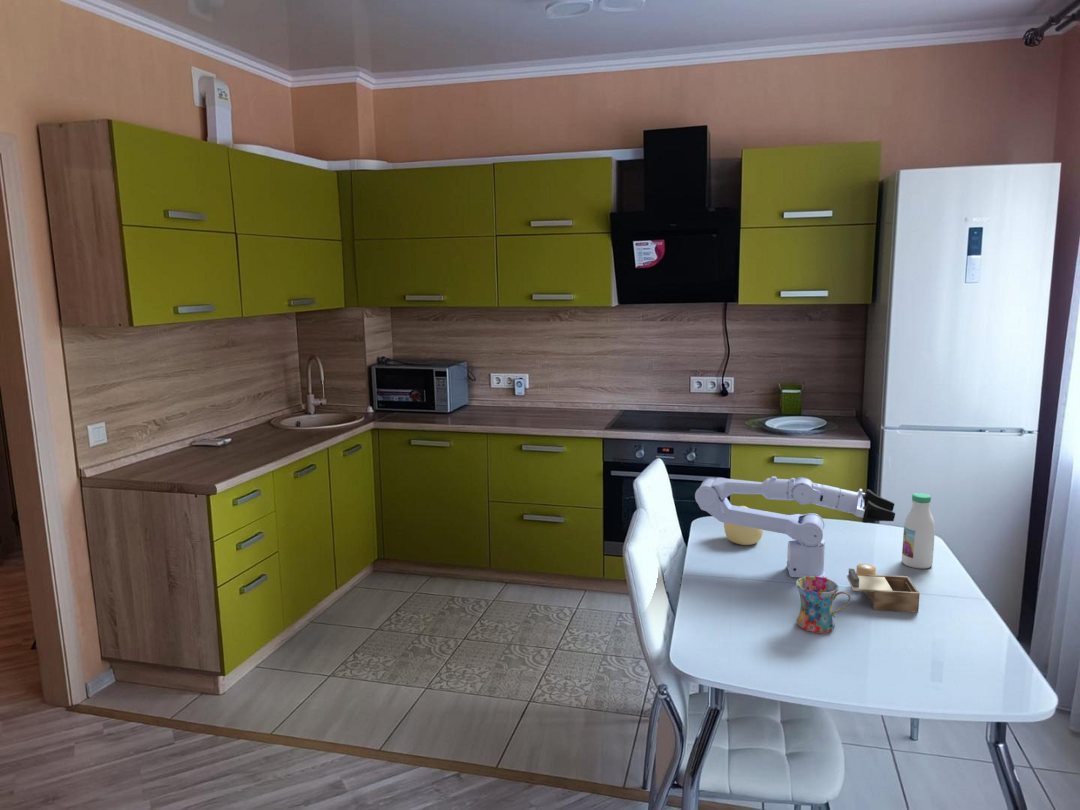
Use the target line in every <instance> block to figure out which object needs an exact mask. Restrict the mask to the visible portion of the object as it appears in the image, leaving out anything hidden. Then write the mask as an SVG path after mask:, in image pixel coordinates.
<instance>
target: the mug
mask: <svg viewBox="0 0 1080 810" xmlns="http://www.w3.org/2000/svg"><path fill="white" fill-rule="evenodd" d="M795 585H796V587H797V590H798V593H799V597H800V611H799V614H798V616H797V618H796V620H795V621H796V624H797V626H798V627H800V628H801V629H803V630H804V631H807V632H810V633H818V634H822V633H823V634H825V633H829V632H831V631H833V630H834V629H835V627H836V624H835V621H834V620H833V618H836V615H835V614H836V613H839V612H841V611H843V610H845V608H847V607H848V605H849V604H850V602H851V599H852V598H851V595H850V593H848V592H846V591H838V590H839V588H840V587H839V585H838V584H837V582H835V581H834V580H831V579H829V578H828V577H827V578H823V577H816V576H808V577H802V578H800V577H798V579H797V580H796V581H795ZM839 595H846V596H847V597H848V599H847V601H846V603H845V604H844V605H843V606H842V607H840V608H838V609H836V610H834V611H832V607H833V602H834V601H835V600H836V598H837V597H838V596H839Z"/></svg>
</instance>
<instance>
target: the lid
mask: <svg viewBox="0 0 1080 810" xmlns="http://www.w3.org/2000/svg"><path fill="white" fill-rule="evenodd" d="M846 579H847V581H848V582H849V584H850V587H851V589H852V591H854V592H865V591H869V592H875V590H885V591H893V590H892V589H891V587H890V585H889V584H888V582H887V580H886V579H885V577H873V576H857V574H856V569H854V568H848V574H847V575H846Z"/></svg>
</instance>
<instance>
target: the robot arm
mask: <svg viewBox="0 0 1080 810" xmlns="http://www.w3.org/2000/svg"><path fill="white" fill-rule="evenodd" d="M733 494H735V495H762V496H763V497H764V498H765V499H766V500H772V501H773V500H775V501H790V502H791V501H795V502H797V503H798V504H799V505H801V506H802V505H803V506H805V505H809V504H813V505H817V506H820V507H824V508H828V509H831V510H837V511H840V512H844V513H849V514H853V515H854V516H855V517H857V518H862V519H861V520H862V521H861V523H864V524H868V523H870V522H894V521H895V517H896V512H895V511H894V508H895V507H894V506H895V503H894V502H893V501H890V500H888V499H886V498H884V497H881V496H880V495H877V494H876V493H874V492H873V491H872V490H871V489H868V488H867V489H866V493H865V492H863V488H859V489H858V491H853V490H849V489H844V488H840V487H836V486H831V485H828V484H827V485H826V484H822V483H821V484H820V483H816V482H813V481H812V480H811V479H809V478H807V477H803V476H800V477H797V478H795V477H791V478H790V479H787V478H777V476H773V475H772V476H771V477H767V478H766V479H764V480H763V481H762V482H761V481H753V480H744V479H736V478H735V479H733V478H726V477H716V478H715V477H707V478H705V479H704V480H703V481H702V482H701V484H700V486H699V487H698V488H697V489H696V491H695V493H694V498H695V501H696V503H697V504H698V507H699V509H700V510H701V511H705V512H706V513H708V514H709V515H711V516H712V517H713V518H715V519H716V520H717V521H719V522H721V523H723V524H724V523H729V524H734V525H739V526H745V527H750V528H756V529H761V530H763V531H768V532H773V533H778V534H783V535H787V536H788V537H789V538H791V539H792V540H789V541H788V542H787V559H786V568H787V571H788V573H789V577H791V578H802V577H808V576H816V577H823V578H827V579H828V576H827V574H826V573H827V572H825V548H826V546H825V545H826V540H825V538H824V529H825V522H824V519H823V518H822V517H821V515H819V514H817V513H813V512H812V513H811V512H809V513H805V514H801V513H795V514H784V513H779V512H774V511H773V512H772V511H766V510H763V509H762V510H761V509H756V508H750V507H748V508H745V507H739V506H740V505H733V504H731V502H730V500H729V499H728V497H730V496H731V495H733Z"/></svg>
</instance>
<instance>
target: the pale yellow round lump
mask: <svg viewBox="0 0 1080 810" xmlns="http://www.w3.org/2000/svg"><path fill="white" fill-rule="evenodd" d="M738 506H739V507H745V508H749V507H748V506H746V505H738ZM723 529H724V533H725V536H726V538H727V539H728V541H730V542H731V543H734V544H737V545H741V546H742V545H743V546H751V545H754V544H757V543H758V542H760V540H761V539H762V537H763V535H764V534H763V533H764V530H761V529H756V528H750V527H745V526H739V525H734V524H729V523H723Z"/></svg>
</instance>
